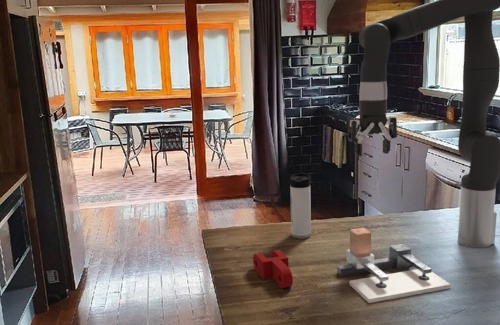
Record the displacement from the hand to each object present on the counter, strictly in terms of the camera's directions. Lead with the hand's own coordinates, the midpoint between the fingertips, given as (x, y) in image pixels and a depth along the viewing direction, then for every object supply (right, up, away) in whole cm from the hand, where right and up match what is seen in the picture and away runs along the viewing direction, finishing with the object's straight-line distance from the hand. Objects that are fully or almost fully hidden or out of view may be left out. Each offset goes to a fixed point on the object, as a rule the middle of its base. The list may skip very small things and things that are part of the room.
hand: (372, 154), depth 141 cm
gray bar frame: (0, -32, -13) cm, 35 cm away
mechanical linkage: (-28, -33, -11) cm, 45 cm away
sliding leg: (-5, -31, -15) cm, 34 cm away
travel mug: (-19, -26, +17) cm, 36 cm away
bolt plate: (+2, -33, -19) cm, 38 cm away
